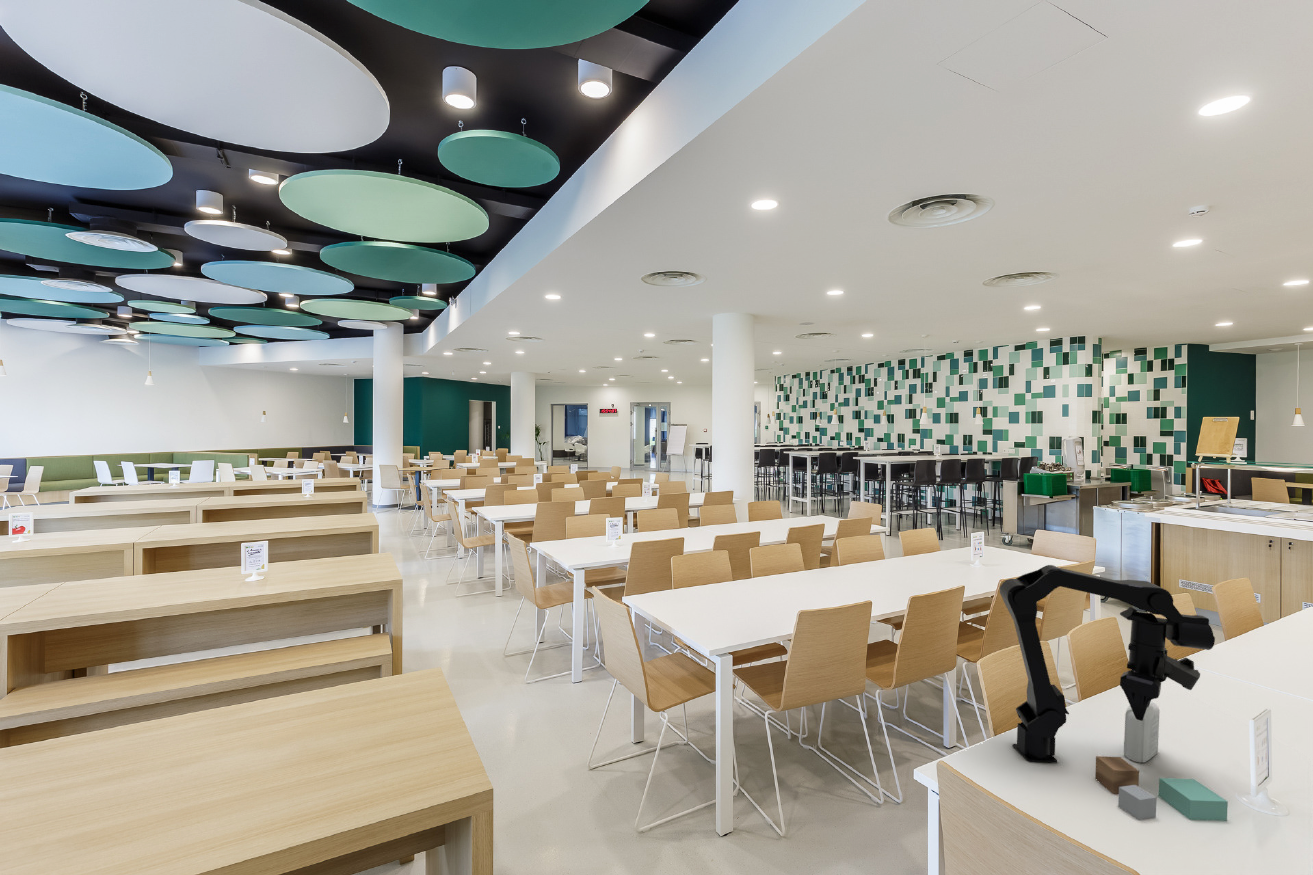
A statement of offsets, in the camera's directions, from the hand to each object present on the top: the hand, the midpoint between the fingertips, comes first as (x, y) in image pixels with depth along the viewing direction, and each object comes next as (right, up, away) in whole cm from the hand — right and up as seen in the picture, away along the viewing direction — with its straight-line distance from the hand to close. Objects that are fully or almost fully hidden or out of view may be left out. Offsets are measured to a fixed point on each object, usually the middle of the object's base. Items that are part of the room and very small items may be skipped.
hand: (1142, 712), depth 126 cm
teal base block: (0, -13, -12) cm, 18 cm away
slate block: (-12, -13, -13) cm, 22 cm away
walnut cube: (-10, -13, -5) cm, 17 cm away
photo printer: (+6, -13, +7) cm, 16 cm away
